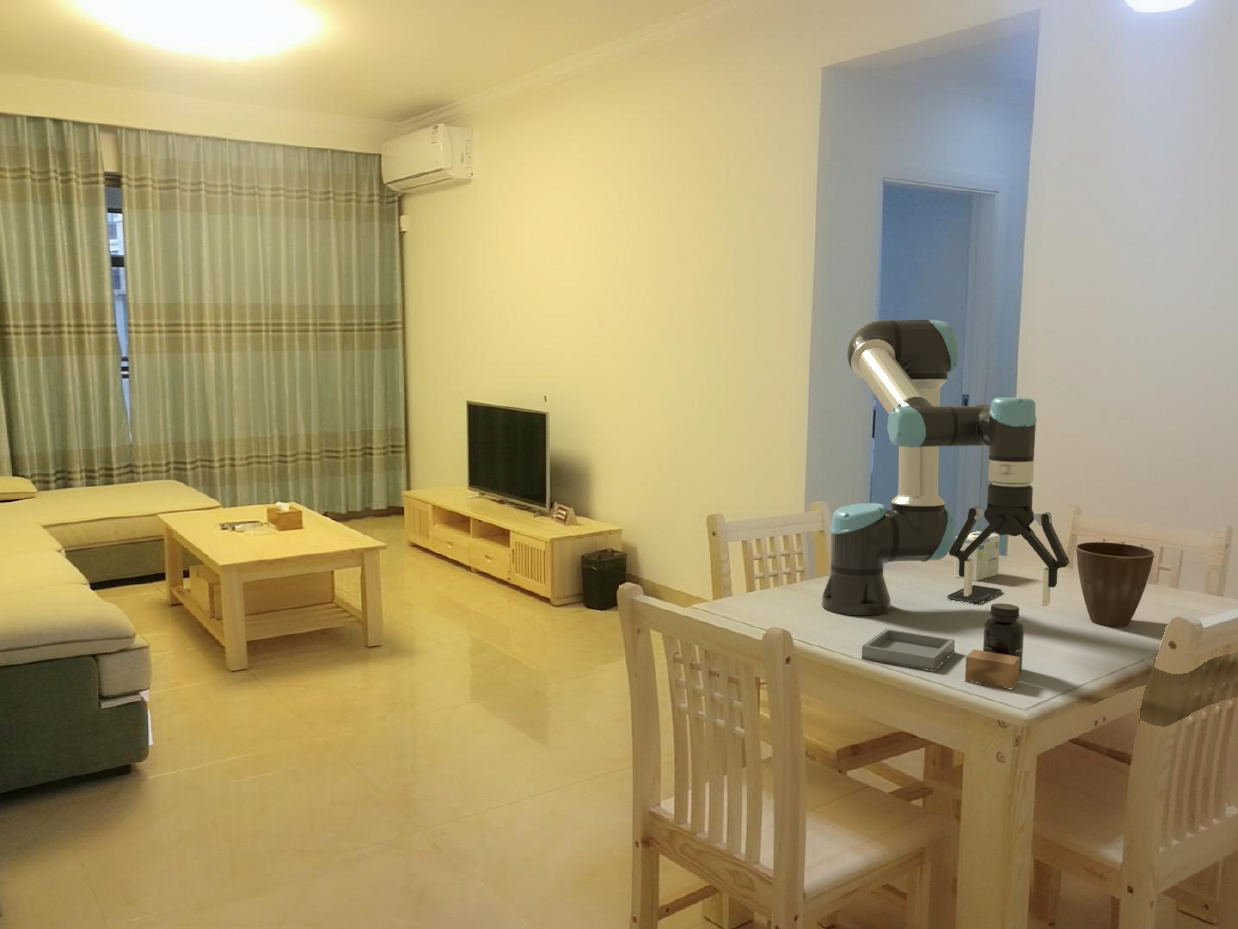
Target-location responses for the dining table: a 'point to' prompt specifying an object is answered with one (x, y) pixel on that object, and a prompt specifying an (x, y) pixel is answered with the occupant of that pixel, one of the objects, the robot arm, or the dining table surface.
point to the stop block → (992, 668)
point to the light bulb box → (982, 557)
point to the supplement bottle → (1004, 631)
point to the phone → (975, 594)
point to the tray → (908, 649)
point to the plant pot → (1113, 580)
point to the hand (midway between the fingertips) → (1006, 599)
